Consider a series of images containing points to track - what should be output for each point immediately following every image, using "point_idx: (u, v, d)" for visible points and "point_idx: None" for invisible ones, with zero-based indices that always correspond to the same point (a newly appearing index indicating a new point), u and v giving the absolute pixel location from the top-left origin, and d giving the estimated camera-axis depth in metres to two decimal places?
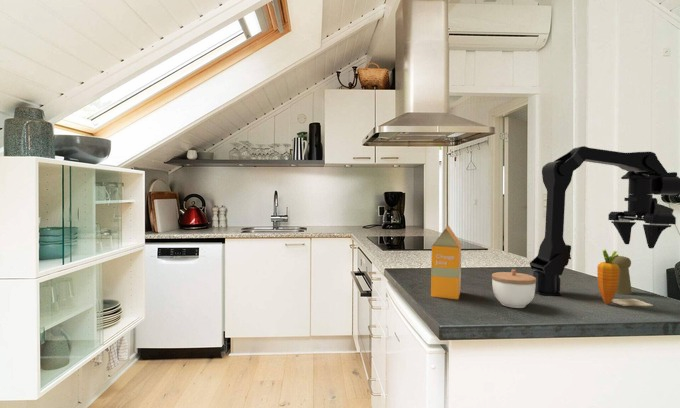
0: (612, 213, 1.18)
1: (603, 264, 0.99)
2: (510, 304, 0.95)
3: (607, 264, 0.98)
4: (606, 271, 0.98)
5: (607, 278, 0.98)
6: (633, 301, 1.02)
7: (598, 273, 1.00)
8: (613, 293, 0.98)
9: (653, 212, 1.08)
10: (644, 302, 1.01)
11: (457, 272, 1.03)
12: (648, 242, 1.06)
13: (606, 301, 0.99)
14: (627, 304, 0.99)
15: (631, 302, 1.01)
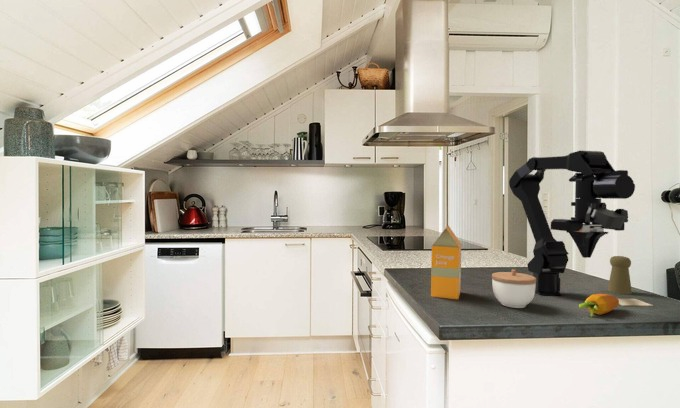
0: None
1: None
2: (510, 304, 0.95)
3: (588, 308, 0.92)
4: None
5: None
6: (633, 301, 1.02)
7: None
8: None
9: None
10: (644, 302, 1.01)
11: (457, 272, 1.03)
12: None
13: None
14: (627, 304, 0.99)
15: (631, 302, 1.01)
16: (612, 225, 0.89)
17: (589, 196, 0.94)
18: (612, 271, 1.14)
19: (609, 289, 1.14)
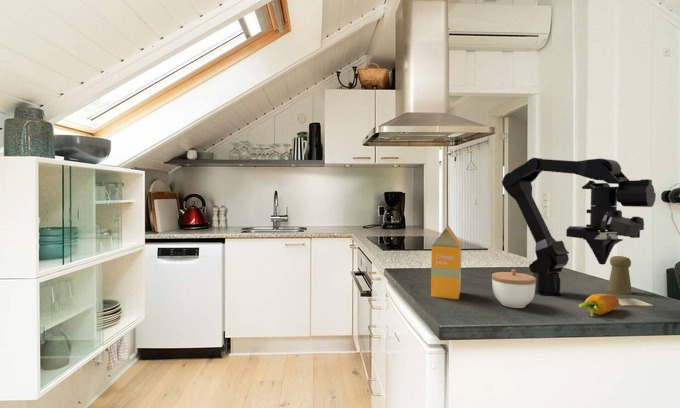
0: None
1: None
2: (510, 304, 0.95)
3: (588, 308, 0.92)
4: None
5: None
6: (633, 301, 1.02)
7: None
8: None
9: None
10: (644, 302, 1.01)
11: (457, 272, 1.03)
12: None
13: None
14: (627, 304, 0.99)
15: (631, 302, 1.01)
16: (628, 233, 0.91)
17: (609, 204, 0.96)
18: (612, 271, 1.14)
19: (609, 289, 1.14)
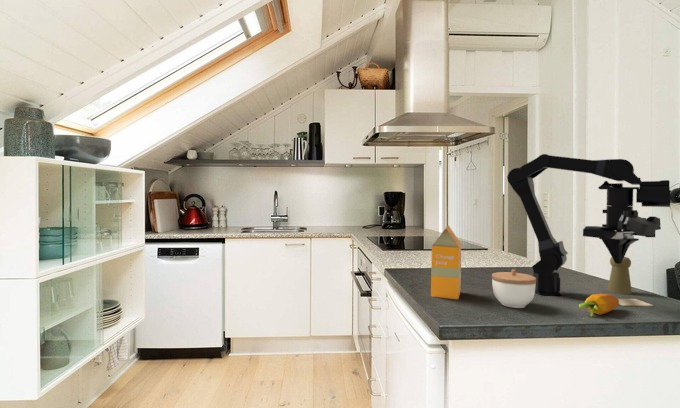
0: None
1: None
2: (510, 304, 0.95)
3: (588, 308, 0.92)
4: None
5: None
6: (633, 301, 1.02)
7: None
8: None
9: None
10: (644, 302, 1.01)
11: (457, 272, 1.03)
12: None
13: None
14: (627, 304, 0.99)
15: (631, 302, 1.01)
16: (645, 232, 0.92)
17: (629, 204, 0.97)
18: (612, 271, 1.14)
19: (609, 289, 1.14)
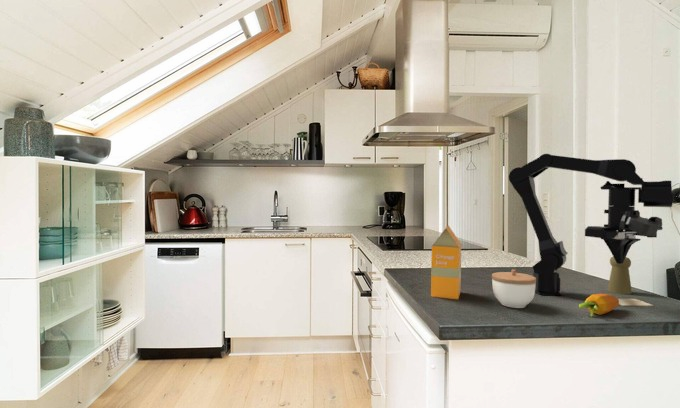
0: None
1: None
2: (510, 304, 0.95)
3: (588, 308, 0.92)
4: None
5: None
6: (633, 301, 1.02)
7: None
8: None
9: None
10: (644, 302, 1.01)
11: (457, 272, 1.03)
12: None
13: None
14: (627, 304, 0.99)
15: (631, 302, 1.01)
16: (647, 233, 0.92)
17: (631, 204, 0.97)
18: (612, 271, 1.14)
19: (609, 289, 1.14)
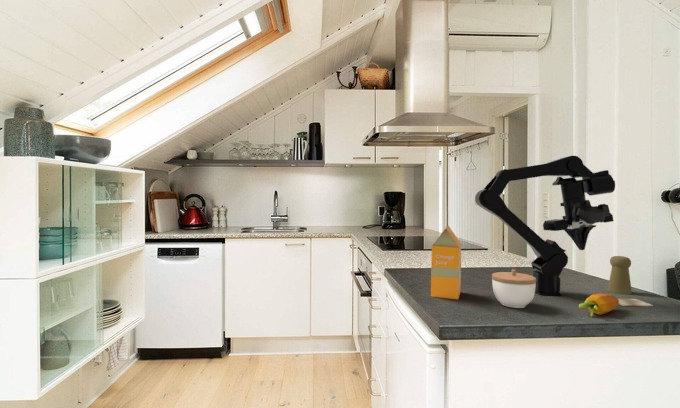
0: None
1: None
2: (510, 304, 0.95)
3: (588, 308, 0.92)
4: None
5: None
6: (633, 301, 1.02)
7: None
8: None
9: None
10: (644, 302, 1.01)
11: (457, 272, 1.03)
12: None
13: None
14: (627, 304, 0.99)
15: (631, 302, 1.01)
16: (594, 220, 1.02)
17: (584, 195, 1.08)
18: (612, 271, 1.14)
19: (609, 289, 1.14)
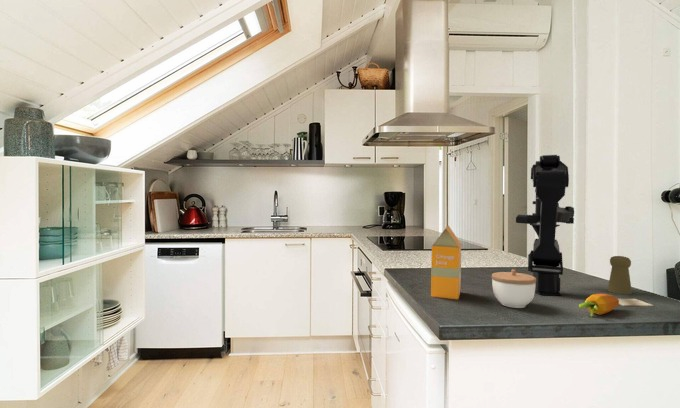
0: None
1: None
2: (510, 304, 0.95)
3: (588, 308, 0.92)
4: None
5: None
6: (633, 301, 1.02)
7: None
8: None
9: None
10: (644, 302, 1.01)
11: (457, 272, 1.03)
12: None
13: None
14: (627, 304, 0.99)
15: (631, 302, 1.01)
16: (561, 219, 1.15)
17: None
18: (612, 271, 1.14)
19: (609, 289, 1.14)
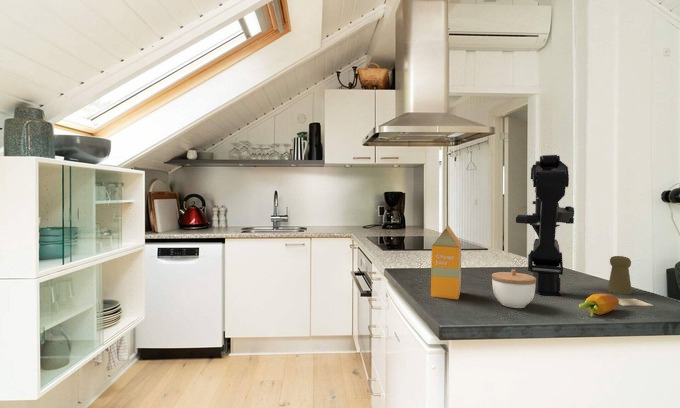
0: None
1: None
2: (510, 304, 0.95)
3: (588, 308, 0.92)
4: None
5: None
6: (633, 301, 1.02)
7: None
8: None
9: None
10: (644, 302, 1.01)
11: (457, 272, 1.03)
12: None
13: None
14: (627, 304, 0.99)
15: (631, 302, 1.01)
16: (561, 219, 1.15)
17: None
18: (612, 271, 1.14)
19: (609, 289, 1.14)
